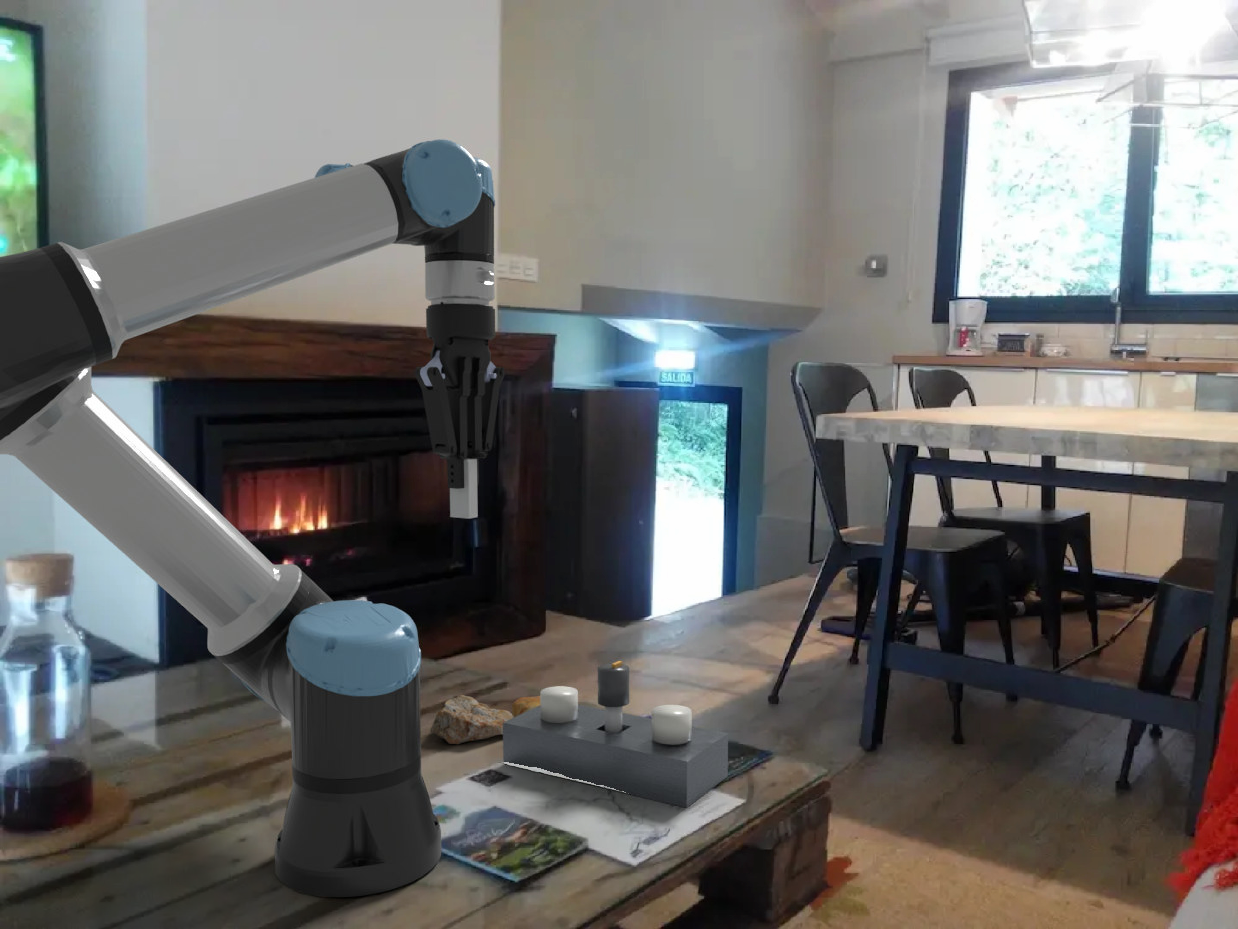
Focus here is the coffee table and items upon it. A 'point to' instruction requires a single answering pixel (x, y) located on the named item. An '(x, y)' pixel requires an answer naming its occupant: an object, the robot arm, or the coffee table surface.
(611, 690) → the pot knob
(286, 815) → the robot arm
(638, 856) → the coffee table surface
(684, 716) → the plunger near
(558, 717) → the plunger far
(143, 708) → the coffee table surface
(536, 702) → the pastry
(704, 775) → the panel
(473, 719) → the rock
